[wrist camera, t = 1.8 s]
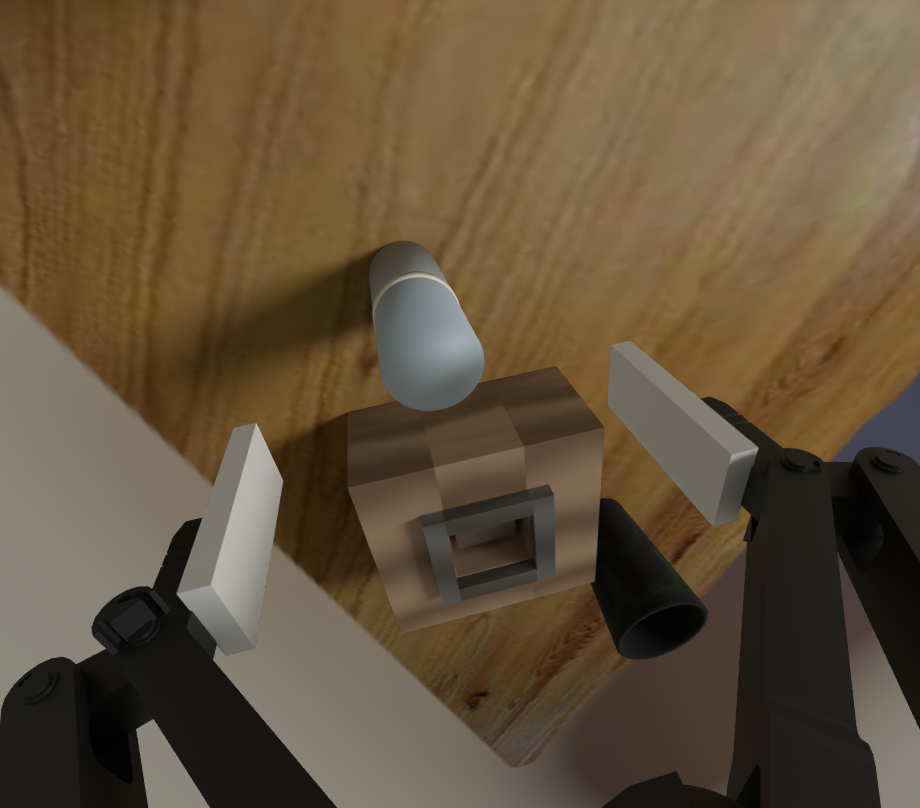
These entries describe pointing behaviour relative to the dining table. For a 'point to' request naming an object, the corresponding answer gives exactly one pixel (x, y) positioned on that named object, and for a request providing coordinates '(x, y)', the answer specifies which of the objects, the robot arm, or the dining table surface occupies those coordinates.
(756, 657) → the robot arm
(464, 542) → the grey square plate
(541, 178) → the dining table surface
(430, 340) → the peg
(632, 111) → the dining table surface
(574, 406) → the socket block
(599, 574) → the cup
